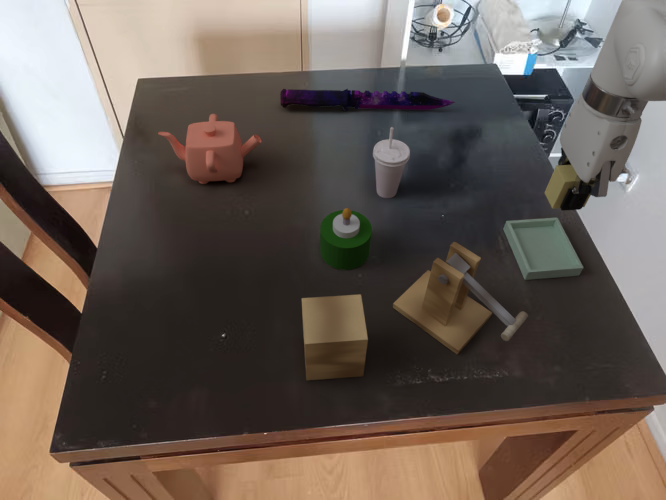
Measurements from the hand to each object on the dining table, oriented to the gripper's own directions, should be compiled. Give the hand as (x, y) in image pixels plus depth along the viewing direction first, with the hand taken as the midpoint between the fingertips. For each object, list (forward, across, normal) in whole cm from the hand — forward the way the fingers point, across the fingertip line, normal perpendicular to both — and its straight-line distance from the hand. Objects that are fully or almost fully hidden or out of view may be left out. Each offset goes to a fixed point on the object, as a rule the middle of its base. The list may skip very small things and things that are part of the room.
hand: (565, 197), depth 81 cm
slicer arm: (+4, -14, +16) cm, 22 cm away
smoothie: (+13, +16, +24) cm, 31 cm away
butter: (0, 0, 0) cm, 0 cm away
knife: (+13, +42, +24) cm, 50 cm away
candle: (+13, +3, +33) cm, 35 cm away
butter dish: (+13, 0, 0) cm, 13 cm away
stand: (+13, -17, +37) cm, 42 cm away
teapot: (+13, +24, +55) cm, 61 cm away
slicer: (+13, -11, +19) cm, 25 cm away
